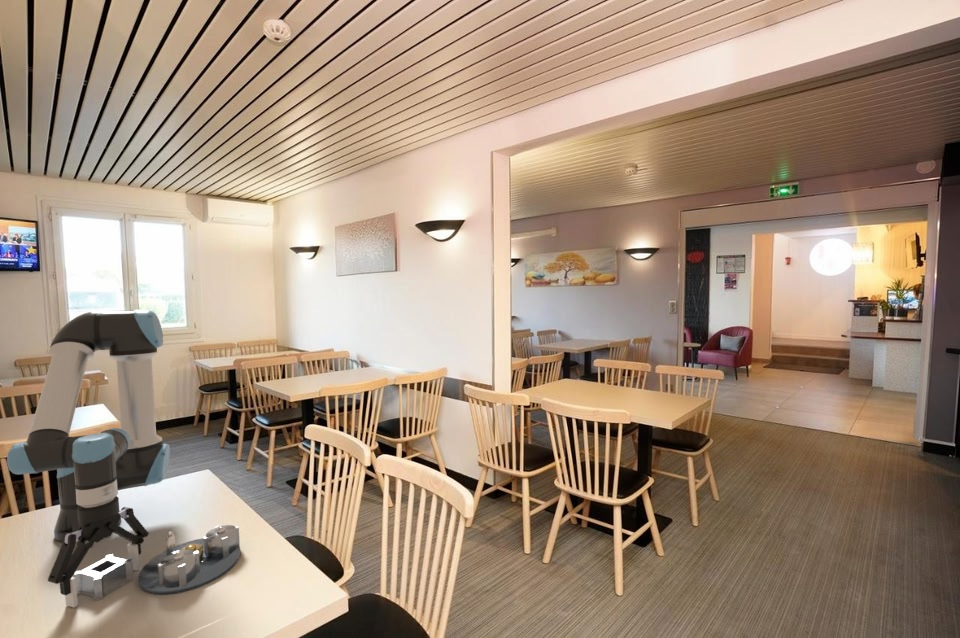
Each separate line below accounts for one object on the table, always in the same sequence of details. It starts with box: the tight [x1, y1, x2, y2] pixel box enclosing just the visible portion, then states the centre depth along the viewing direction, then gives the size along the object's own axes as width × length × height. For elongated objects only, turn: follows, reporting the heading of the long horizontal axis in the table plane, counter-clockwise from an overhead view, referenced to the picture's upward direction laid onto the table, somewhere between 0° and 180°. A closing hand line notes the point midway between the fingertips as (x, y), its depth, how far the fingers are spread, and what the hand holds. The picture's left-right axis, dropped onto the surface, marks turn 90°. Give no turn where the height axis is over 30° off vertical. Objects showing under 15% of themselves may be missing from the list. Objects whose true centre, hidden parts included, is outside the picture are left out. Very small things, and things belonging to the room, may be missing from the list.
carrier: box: [138, 524, 241, 596], centre depth 117 cm, size 22×22×8 cm
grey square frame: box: [73, 553, 135, 602], centre depth 109 cm, size 9×9×5 cm
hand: (104, 586), depth 109 cm, fingers open, 13 cm apart
